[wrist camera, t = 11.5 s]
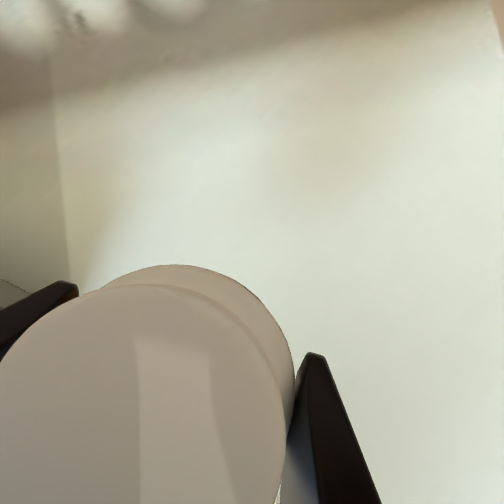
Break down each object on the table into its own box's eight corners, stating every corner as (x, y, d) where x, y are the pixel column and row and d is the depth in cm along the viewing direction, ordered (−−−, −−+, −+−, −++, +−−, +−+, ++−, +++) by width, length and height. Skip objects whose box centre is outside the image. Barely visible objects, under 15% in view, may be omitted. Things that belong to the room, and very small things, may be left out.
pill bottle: (128, 282, 16) (-71, 263, 6) (268, 270, 16) (301, 232, 6) (136, 427, 15) (-73, 675, 5) (281, 413, 15) (342, 633, 5)
